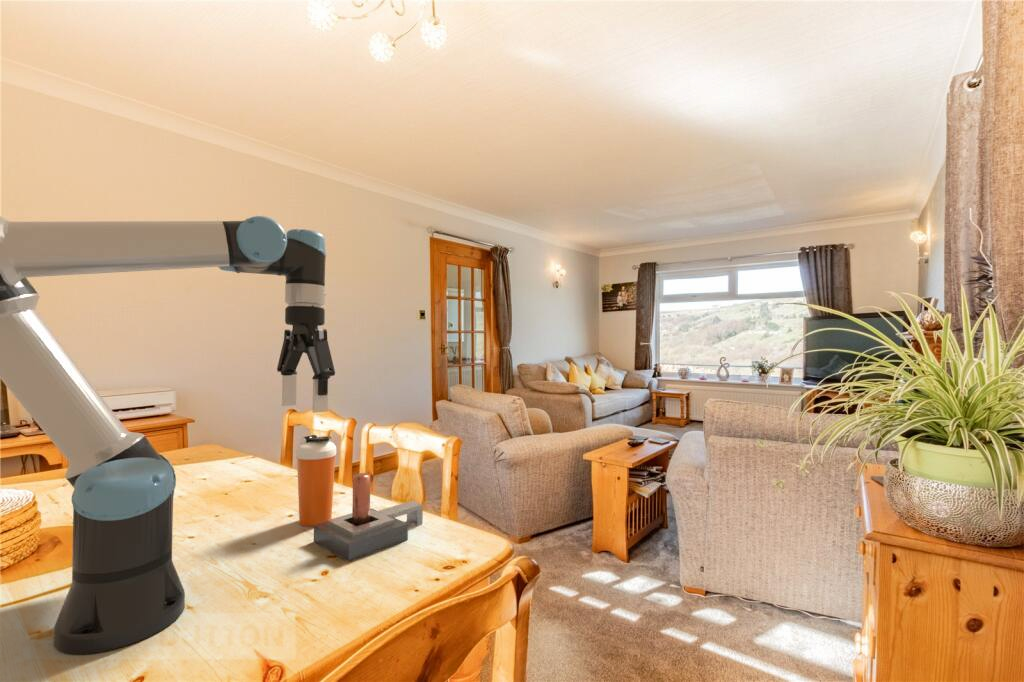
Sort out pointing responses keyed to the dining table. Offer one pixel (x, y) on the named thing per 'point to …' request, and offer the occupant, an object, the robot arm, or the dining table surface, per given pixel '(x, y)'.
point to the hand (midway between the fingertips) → (303, 408)
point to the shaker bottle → (315, 479)
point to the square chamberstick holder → (359, 539)
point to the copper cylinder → (361, 499)
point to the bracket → (379, 519)
